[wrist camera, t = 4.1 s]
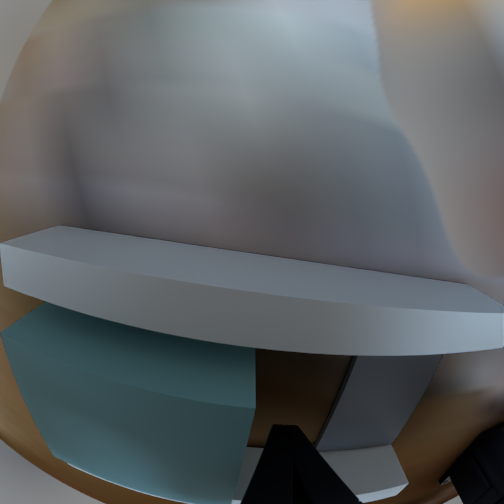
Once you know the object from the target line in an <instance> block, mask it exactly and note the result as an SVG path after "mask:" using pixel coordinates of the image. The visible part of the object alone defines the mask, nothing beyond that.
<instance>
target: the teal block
mask: <svg viewBox="0 0 504 504" xmlns="http://www.w3.org/2000/svg"><path fill="white" fill-rule="evenodd" d="M0 334H1V338H2V341H3V344H4V348H5V351H6V354H7V357H8V360H9V363H10V366H11V369H12V371H13V374H14V377H15V379H16V382H17V384H18V387H19V389H20V392H21V394H22V396H23V399H24V401H25V403H26V405H27V407H28V410H29V412H30V414H31V416H32V418H33V420H34V422H35V424H36V426H37V428H38V429H39V431H40V433H41V435H42V437H43V439H44V440H45V442H46V444H47V445H48V447H49V449H50V450H51V452H52V454H53V455H54V456H55V457H57V458H59V459H61V460H63V461H65V462H67V463H69V464H71V465H73V466H75V467H77V468H79V469H82V470H84V471H86V472H88V473H91V474H93V475H96V476H98V477H101V478H103V479H106V480H108V481H111V482H114V483H117V484H119V485H122V486H125V487H128V488H131V489H135V490H138V491H141V492H145V493H148V494H152V495H156V496H160V497H164V498H168V499H173V500H177V501H182V502H188V503H193V504H231V503H232V500H233V496H234V493H235V489H236V485H237V482H238V478H239V474H240V470H241V466H242V463H243V459H244V455H245V451H246V447H247V443H248V439H249V435H250V431H251V426H252V422H253V418H254V414H255V410H256V371H255V348H252V347H244V346H237V345H230V344H223V343H216V342H210V341H204V340H198V339H192V338H187V337H181V336H176V335H171V334H166V333H161V332H156V331H152V330H147V329H143V328H138V327H134V326H130V325H126V324H122V323H118V322H114V321H110V320H106V319H102V318H99V317H95V316H91V315H88V314H84V313H81V312H78V311H74V310H71V309H68V308H65V307H61V306H58V305H55V304H52V303H49V302H45V303H43V304H42V305H40V306H38V307H37V308H35V309H34V310H32V311H31V312H30V313H28V314H27V315H25V316H24V317H22V318H21V319H19V320H18V321H16V322H15V323H14V324H12V325H11V326H9V327H8V328H6V329H5V330H4V331H2V332H1V333H0Z"/></svg>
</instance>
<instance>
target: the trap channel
mask: <svg viewBox="0 0 504 504" xmlns="http://www.w3.org/2000/svg"><path fill="white" fill-rule="evenodd" d="M0 254H1V265H2V273H3V281H4V286H5V287H8V288H11V289H13V290H16V291H18V292H21V293H24V294H26V295H29V296H32V297H35V298H37V299H40V300H43V301H46V302H49V303H52V304H55V305H58V306H61V307H65V308H68V309H71V310H74V311H78V312H81V313H84V314H88V315H91V316H95V317H99V318H102V319H106V320H110V321H114V322H118V323H122V324H126V325H130V326H134V327H138V328H143V329H147V330H152V331H156V332H161V333H166V334H171V335H176V336H181V337H187V338H192V339H198V340H204V341H210V342H216V343H223V344H230V345H237V346H244V347H252V348H261V349H270V350H279V351H290V352H302V353H316V354H333V355H354V356H353V359H352V361H351V364H350V367H349V369H348V372H347V374H346V377H345V379H344V382H343V384H342V387H341V389H340V391H339V394H338V396H337V398H336V401H335V403H334V405H333V407H332V409H331V412H330V414H329V416H328V418H327V420H326V422H325V424H324V426H323V429H322V431H321V433H320V435H319V437H318V439H317V441H316V442H315V444H314V447H315V448H316V449H317V451H318V452H319V453H320V454H321V456H322V457H323V458H324V459H325V460H326V462H327V463H328V464H329V465H330V466H331V468H332V469H333V470H334V471H335V472H336V474H337V475H338V476H339V477H340V478H341V479H342V481H343V482H344V483H345V484H346V485H347V486H348V487H349V489H350V490H351V491H352V492H353V493H354V494H355V495H356V496H357V498H358V499H359V501H361V502H362V503H365V502H370V501H375V500H379V499H383V498H387V497H391V496H395V495H397V494H398V493H399V492H400V491H401V490H402V489H403V488H404V487H405V486H407V485H408V484H409V483H408V480H407V478H406V476H405V473H404V471H403V469H402V467H401V465H400V462H399V460H398V458H397V456H396V454H395V451H394V449H393V447H392V445H391V444H392V443H393V441H394V440H395V439H396V437H397V436H398V434H399V433H400V431H401V430H402V428H403V427H404V425H405V424H406V422H407V421H408V419H409V418H410V416H411V414H412V413H413V411H414V409H415V408H416V406H417V404H418V403H419V401H420V399H421V398H422V396H423V394H424V392H425V391H426V389H427V387H428V385H429V383H430V381H431V379H432V377H433V375H434V373H435V372H436V370H437V367H438V365H439V363H440V361H441V359H442V357H443V355H444V354H448V353H461V352H471V351H480V350H489V349H496V348H503V346H504V306H503V305H502V304H500V303H498V302H497V301H495V300H493V299H492V298H490V297H488V296H486V295H485V294H483V293H481V292H479V291H478V290H476V289H474V288H472V287H471V286H469V285H467V284H462V283H455V282H448V281H441V280H434V279H427V278H420V277H413V276H405V275H398V274H392V273H385V272H378V271H371V270H364V269H357V268H350V267H343V266H336V265H329V264H322V263H315V262H308V261H301V260H294V259H287V258H280V257H273V256H266V255H260V254H253V253H246V252H239V251H232V250H225V249H218V248H211V247H205V246H198V245H191V244H184V243H177V242H170V241H163V240H157V239H150V238H143V237H136V236H129V235H122V234H116V233H109V232H102V231H95V230H89V229H82V228H75V227H68V226H61V225H60V226H56V227H52V228H49V229H45V230H41V231H38V232H34V233H31V234H28V235H24V236H21V237H18V238H15V239H11V240H8V241H5V242H2V243H0ZM262 451H263V448H254V447H246V451H245V455H244V459H243V463H242V466H241V470H240V474H239V478H238V482H237V485H236V489H235V493H234V496H233V500H232V503H231V504H240V503H241V501H242V499H243V496H244V494H245V492H246V490H247V487H248V485H249V483H250V480H251V478H252V476H253V473H254V471H255V468H256V466H257V463H258V461H259V458H260V456H261V453H262ZM68 464H69V463H68ZM69 465H71V464H69ZM71 466H73V465H71ZM73 467H75V466H73ZM75 468H77V467H75ZM77 469H79V468H77ZM80 470H82V469H80ZM82 471H84V470H82ZM84 472H86V471H84ZM86 473H88V472H86ZM89 474H91V473H89ZM91 475H93V474H91ZM93 476H96V475H93ZM96 477H98V476H96ZM98 478H101V477H98ZM101 479H103V478H101ZM103 480H106V479H103ZM106 481H108V480H106ZM108 482H111V481H108ZM111 483H114V482H111ZM114 484H117V483H114ZM117 485H119V484H117ZM120 486H122V485H120ZM122 487H125V486H122ZM125 488H128V487H125ZM129 489H131V488H129ZM132 490H135V489H132ZM135 491H138V490H135ZM138 492H141V491H138ZM142 493H145V492H142ZM145 494H148V493H145ZM149 495H152V494H149ZM152 496H156V495H152ZM156 497H160V496H156ZM160 498H164V497H160ZM164 499H168V498H164ZM168 500H173V499H168ZM173 501H177V500H173ZM178 502H182V501H178ZM182 503H188V502H182ZM188 504H193V503H188Z"/></svg>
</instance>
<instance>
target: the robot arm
mask: <svg viewBox="0 0 504 504" xmlns="http://www.w3.org/2000/svg"><path fill="white" fill-rule="evenodd" d="M450 481H452V483H453V485H454V487H455V489H456V491H457V492H458V494H459V496H460V498H461V500H462V502H463V504H504V424H502V425H500V426H498V427H495V428H493V429H491V430H489V431H487V432H485V433H483V434H482V435H480V436H479V437H478V439H477V440H476V441H475V442H474V444H473V445H472V446H471V447H470V448H469V450H468V451H467V452H466V453H465V454H464V456H463V457H462V458H461V459H460V460H459V461H458V462H457V463H456V464H455V466H454V467H453V468H452V469H451V470H450V471H449V472H448V473H447V474H446V475H445V476H444V477H443V478H442V479H441V480H440V481H439V483H440V485H443V484H446V483H448V482H450ZM240 504H363V503H362V502H361V501H359V499H358V498H357V496H356V495H355V494H354V493H353V492H352V491H351V490H350V489H349V487H348V486H347V485H346V484H345V483H344V482H343V481H342V479H341V478H340V477H339V476H338V475H337V474H336V472H335V471H334V470H333V469H332V468H331V466H330V465H329V464H328V463H327V462H326V460H325V459H324V458H323V457H322V456H321V454H320V453H319V452H318V451H317V449H316V448H315V447H314V446H313V444H312V443H311V442H310V441H309V439H308V438H307V437H306V436H305V434H304V433H303V432H302V430H301V429H300V428H299V427H298V426H297V425H282V424H273V425H272V427H271V430H270V433H269V435H268V438H267V441H266V443H265V446H264V448H263V451H262V453H261V456H260V458H259V461H258V463H257V466H256V468H255V471H254V473H253V476H252V478H251V480H250V483H249V485H248V487H247V490H246V492H245V494H244V496H243V499H242V501H241V503H240Z"/></svg>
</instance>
